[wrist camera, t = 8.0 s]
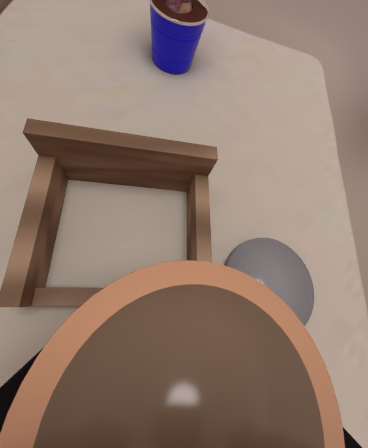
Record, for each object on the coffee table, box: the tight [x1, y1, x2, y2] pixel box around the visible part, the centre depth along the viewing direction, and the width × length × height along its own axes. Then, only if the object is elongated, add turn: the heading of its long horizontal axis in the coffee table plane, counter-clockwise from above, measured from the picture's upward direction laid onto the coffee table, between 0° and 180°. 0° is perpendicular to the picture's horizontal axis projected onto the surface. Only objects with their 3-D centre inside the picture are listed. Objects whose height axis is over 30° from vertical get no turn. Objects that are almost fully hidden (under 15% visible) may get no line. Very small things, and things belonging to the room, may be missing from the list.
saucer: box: [224, 238, 314, 326], centre depth 24 cm, size 11×11×1 cm
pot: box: [0, 260, 345, 448], centre depth 10 cm, size 7×7×13 cm
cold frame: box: [0, 118, 218, 307], centre depth 20 cm, size 15×17×7 cm
